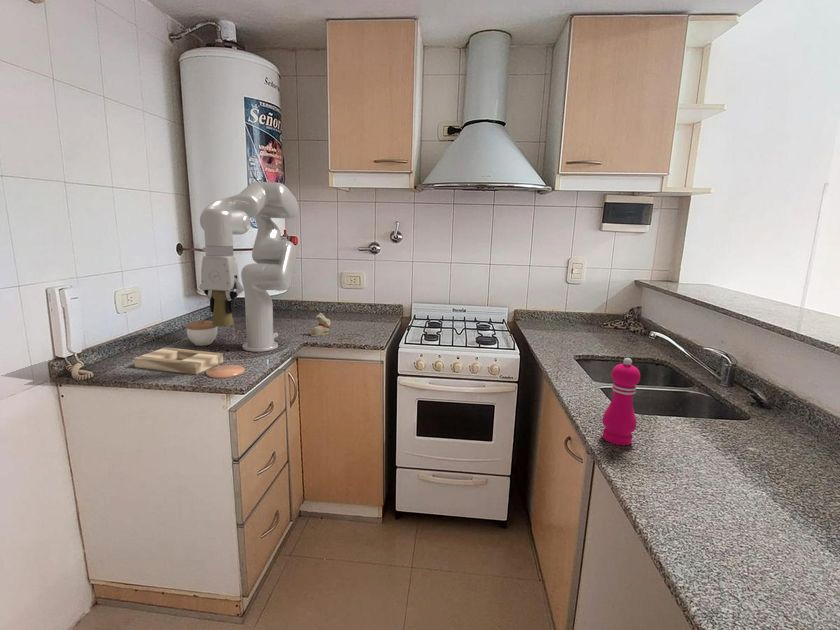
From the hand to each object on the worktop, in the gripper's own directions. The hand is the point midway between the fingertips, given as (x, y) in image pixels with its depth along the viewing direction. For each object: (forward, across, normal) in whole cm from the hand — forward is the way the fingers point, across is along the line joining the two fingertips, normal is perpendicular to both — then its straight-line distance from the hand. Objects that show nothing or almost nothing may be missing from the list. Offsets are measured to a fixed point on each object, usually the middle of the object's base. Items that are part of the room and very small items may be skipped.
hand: (222, 311), depth 133 cm
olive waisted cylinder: (+4, 0, 0) cm, 4 cm away
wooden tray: (+19, -18, +2) cm, 27 cm away
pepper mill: (+20, +112, -14) cm, 115 cm away
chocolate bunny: (+20, +8, +53) cm, 57 cm away
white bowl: (+20, -28, +26) cm, 43 cm away
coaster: (+19, 0, 0) cm, 19 cm away
